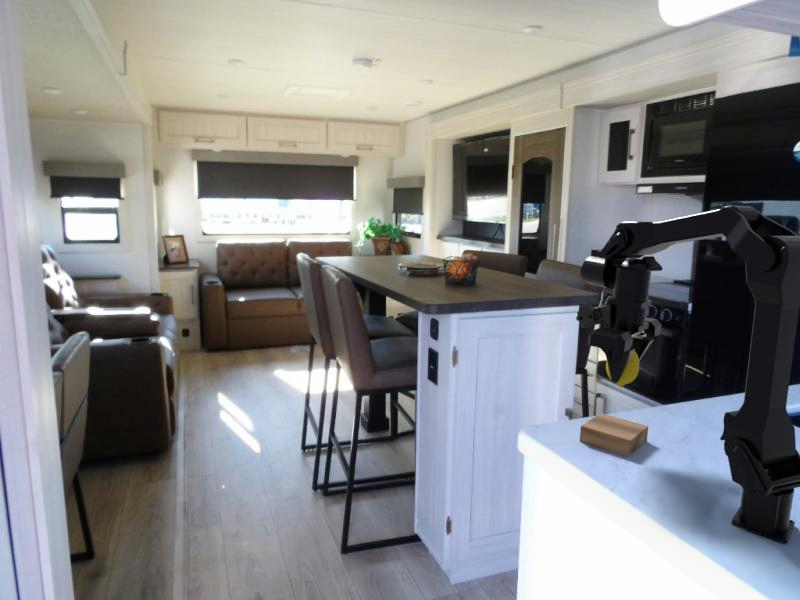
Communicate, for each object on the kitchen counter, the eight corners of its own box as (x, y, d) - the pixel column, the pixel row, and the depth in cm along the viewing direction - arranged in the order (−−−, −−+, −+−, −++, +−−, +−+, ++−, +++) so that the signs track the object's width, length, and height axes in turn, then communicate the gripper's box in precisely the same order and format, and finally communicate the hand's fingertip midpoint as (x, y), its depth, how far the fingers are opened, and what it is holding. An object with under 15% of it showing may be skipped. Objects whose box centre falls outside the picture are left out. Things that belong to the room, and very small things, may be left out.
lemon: (616, 393, 97) (621, 349, 96) (597, 382, 103) (602, 340, 101) (643, 391, 99) (648, 347, 97) (623, 380, 104) (627, 339, 103)
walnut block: (628, 456, 97) (630, 440, 97) (579, 440, 103) (580, 425, 103) (646, 441, 104) (648, 426, 103) (599, 427, 110) (601, 413, 109)
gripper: (607, 282, 110) (599, 358, 113) (563, 292, 96) (555, 379, 99) (666, 290, 102) (656, 371, 105) (628, 302, 89) (618, 395, 92)
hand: (621, 378), depth 101 cm, fingers closed on lemon, 5 cm apart
